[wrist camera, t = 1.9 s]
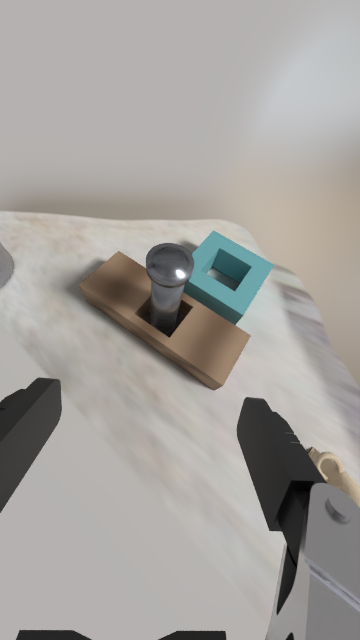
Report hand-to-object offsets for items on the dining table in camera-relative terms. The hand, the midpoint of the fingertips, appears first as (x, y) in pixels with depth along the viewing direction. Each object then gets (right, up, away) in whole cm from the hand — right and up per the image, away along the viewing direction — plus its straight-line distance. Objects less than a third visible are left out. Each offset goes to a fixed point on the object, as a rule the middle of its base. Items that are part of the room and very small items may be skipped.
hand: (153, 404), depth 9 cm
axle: (-1, +3, +19) cm, 19 cm away
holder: (+7, +9, +23) cm, 25 cm away
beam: (-1, +3, +19) cm, 19 cm away
